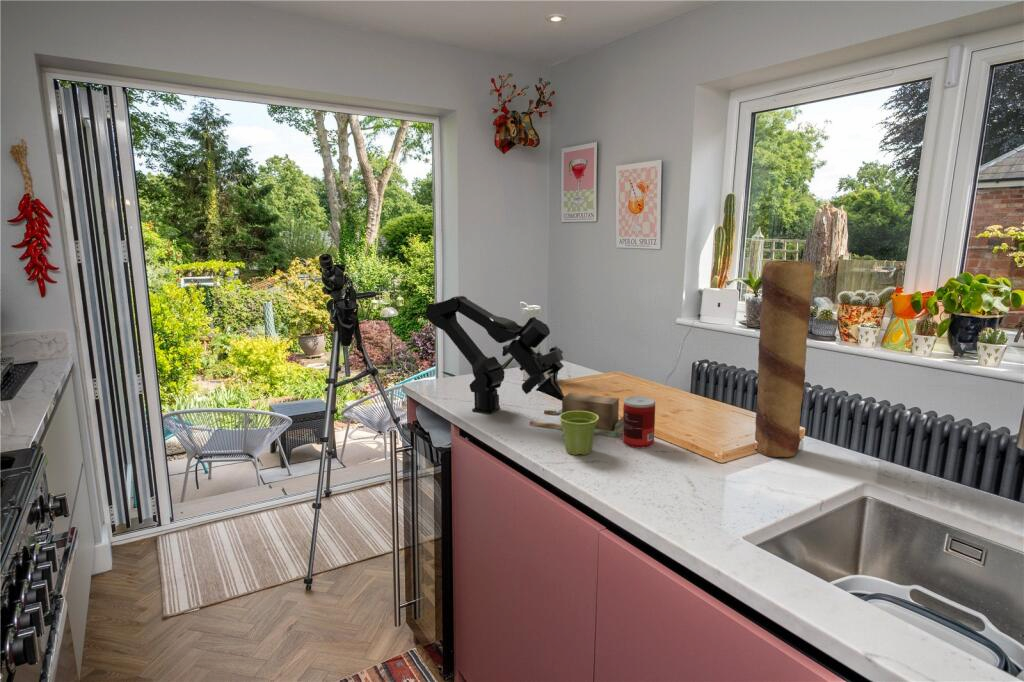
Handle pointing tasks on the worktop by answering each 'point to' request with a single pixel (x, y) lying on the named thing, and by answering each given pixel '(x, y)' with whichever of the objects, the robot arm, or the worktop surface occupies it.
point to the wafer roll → (782, 355)
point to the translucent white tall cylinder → (525, 316)
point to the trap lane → (597, 431)
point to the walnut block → (594, 408)
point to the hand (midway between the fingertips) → (563, 399)
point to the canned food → (638, 421)
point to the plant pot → (578, 431)
